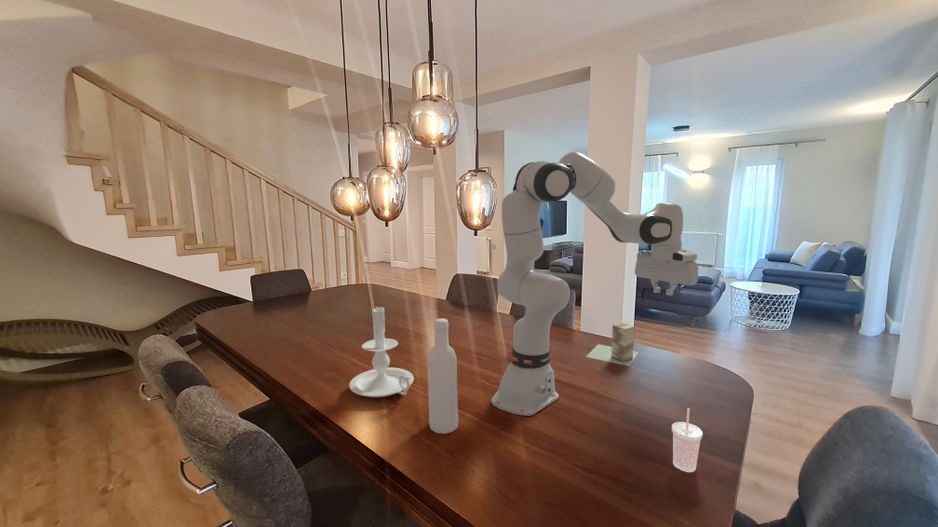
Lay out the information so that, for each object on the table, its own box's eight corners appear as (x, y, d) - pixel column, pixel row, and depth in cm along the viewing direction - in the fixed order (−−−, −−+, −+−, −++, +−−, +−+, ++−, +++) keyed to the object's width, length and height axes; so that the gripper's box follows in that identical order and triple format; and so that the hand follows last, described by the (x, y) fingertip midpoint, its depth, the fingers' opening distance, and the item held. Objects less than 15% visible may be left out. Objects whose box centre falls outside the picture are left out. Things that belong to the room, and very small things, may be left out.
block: (632, 359, 147) (634, 326, 145) (623, 362, 144) (625, 328, 142) (620, 354, 152) (621, 322, 150) (611, 357, 149) (612, 325, 147)
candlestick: (383, 418, 110) (377, 323, 106) (337, 391, 126) (331, 308, 122) (435, 391, 125) (432, 307, 121) (388, 370, 141) (385, 296, 137)
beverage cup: (666, 454, 92) (670, 400, 90) (695, 459, 90) (700, 403, 88) (672, 471, 86) (676, 413, 84) (703, 476, 85) (708, 417, 83)
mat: (629, 367, 141) (629, 366, 141) (585, 357, 150) (585, 356, 150) (638, 353, 154) (638, 352, 154) (598, 345, 163) (598, 344, 163)
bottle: (461, 431, 103) (459, 323, 98) (432, 436, 101) (428, 326, 96) (454, 415, 111) (451, 314, 106) (427, 420, 108) (423, 317, 104)
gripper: (631, 250, 134) (629, 289, 136) (691, 257, 117) (688, 301, 119) (643, 249, 138) (640, 287, 140) (702, 255, 120) (699, 298, 123)
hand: (663, 293), depth 129 cm, fingers open, 3 cm apart
